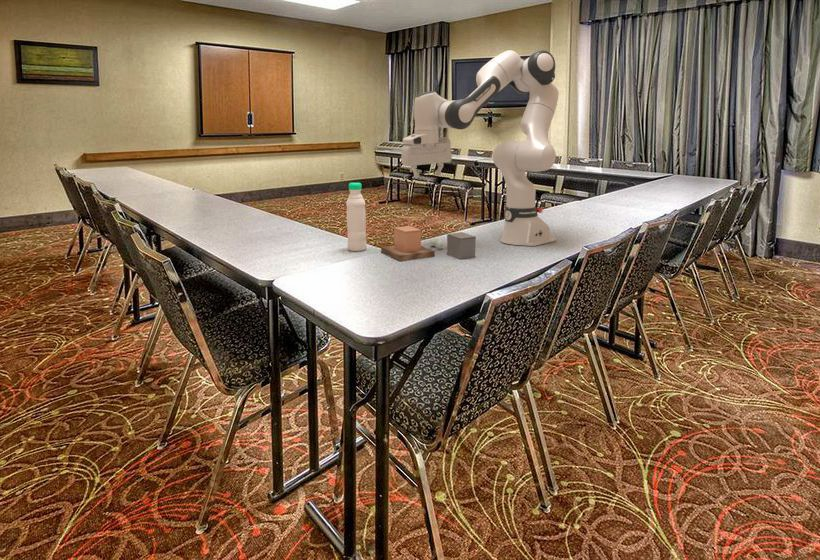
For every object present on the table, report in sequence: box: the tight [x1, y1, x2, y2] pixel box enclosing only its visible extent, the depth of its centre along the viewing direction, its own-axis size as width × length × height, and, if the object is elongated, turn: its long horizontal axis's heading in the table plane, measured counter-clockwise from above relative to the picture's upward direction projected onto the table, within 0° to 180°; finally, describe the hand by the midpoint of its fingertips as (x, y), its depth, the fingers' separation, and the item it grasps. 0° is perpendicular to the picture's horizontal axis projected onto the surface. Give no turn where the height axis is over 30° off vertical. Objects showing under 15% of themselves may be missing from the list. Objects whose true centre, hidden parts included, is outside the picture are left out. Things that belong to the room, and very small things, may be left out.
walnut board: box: [380, 245, 436, 262], centre depth 188 cm, size 14×15×2 cm
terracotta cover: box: [393, 225, 422, 252], centre depth 187 cm, size 6×9×8 cm
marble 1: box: [429, 238, 438, 247], centre depth 200 cm, size 3×3×3 cm
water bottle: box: [345, 182, 368, 252], centre depth 193 cm, size 7×7×25 cm
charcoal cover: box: [446, 231, 477, 260], centre depth 186 cm, size 6×9×8 cm
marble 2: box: [435, 240, 445, 250], centre depth 196 cm, size 3×3×3 cm
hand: (427, 176), depth 195 cm, fingers open, 8 cm apart
